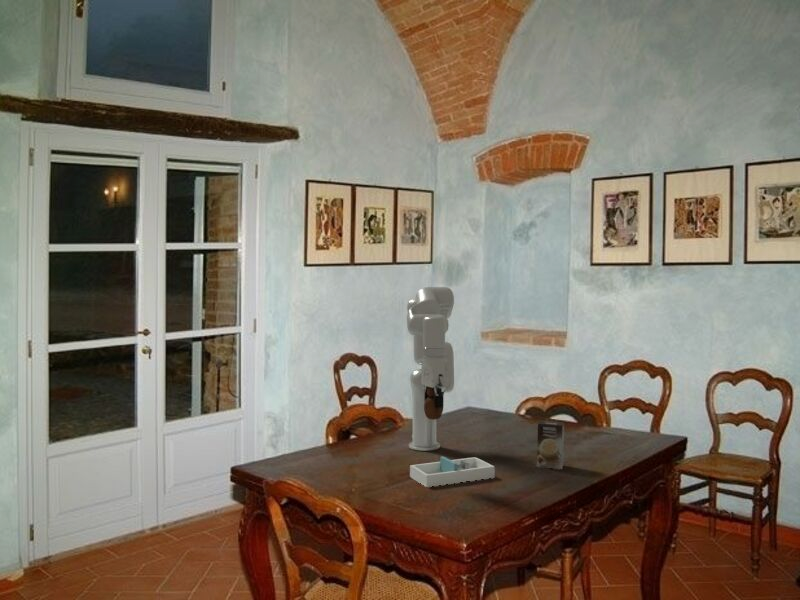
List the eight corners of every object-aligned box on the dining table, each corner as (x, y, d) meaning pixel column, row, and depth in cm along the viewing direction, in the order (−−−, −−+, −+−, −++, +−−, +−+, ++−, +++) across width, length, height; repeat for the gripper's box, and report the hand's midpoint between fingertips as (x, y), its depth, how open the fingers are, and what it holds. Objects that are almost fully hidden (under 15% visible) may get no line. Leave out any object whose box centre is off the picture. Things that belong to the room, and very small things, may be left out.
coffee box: (536, 467, 254) (536, 423, 253) (538, 462, 260) (539, 419, 259) (562, 470, 251) (562, 425, 250) (563, 465, 257) (564, 421, 256)
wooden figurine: (436, 421, 234) (436, 376, 233) (421, 419, 237) (421, 375, 236) (445, 417, 239) (446, 374, 239) (431, 415, 243) (431, 372, 242)
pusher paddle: (440, 470, 245) (440, 456, 245) (458, 467, 248) (459, 454, 248) (453, 478, 236) (453, 463, 236) (473, 475, 239) (473, 461, 239)
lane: (410, 476, 242) (410, 465, 242) (475, 468, 253) (475, 457, 253) (426, 487, 231) (426, 475, 230) (494, 478, 241) (494, 466, 241)
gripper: (413, 350, 244) (413, 401, 244) (435, 356, 228) (435, 410, 229) (432, 349, 247) (432, 400, 247) (455, 355, 231) (455, 409, 232)
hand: (433, 404), depth 238 cm, fingers closed on wooden figurine, 6 cm apart
